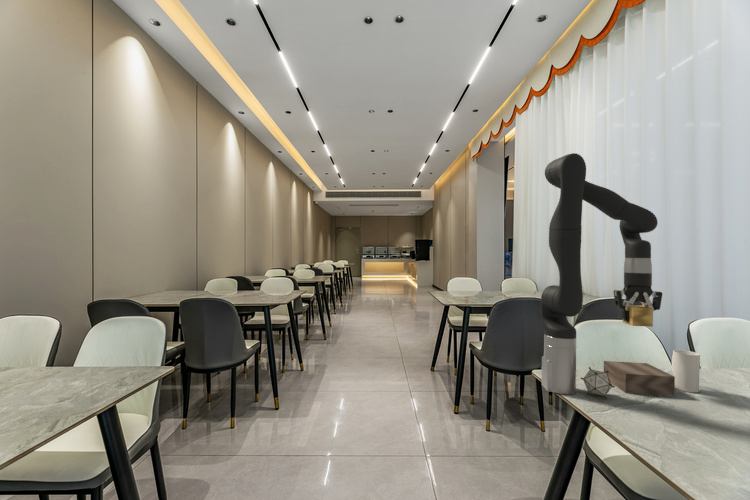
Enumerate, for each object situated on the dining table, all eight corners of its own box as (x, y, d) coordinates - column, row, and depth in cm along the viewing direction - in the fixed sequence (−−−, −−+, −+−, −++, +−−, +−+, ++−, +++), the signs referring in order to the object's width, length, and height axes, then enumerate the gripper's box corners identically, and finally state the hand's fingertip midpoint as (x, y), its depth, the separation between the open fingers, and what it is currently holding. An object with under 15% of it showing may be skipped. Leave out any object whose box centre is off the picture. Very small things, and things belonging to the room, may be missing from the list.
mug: (705, 394, 112) (705, 356, 112) (681, 392, 113) (681, 354, 113) (683, 382, 122) (683, 348, 122) (661, 381, 123) (661, 346, 123)
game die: (590, 405, 111) (573, 373, 116) (618, 398, 109) (600, 366, 115) (594, 400, 104) (576, 366, 109) (624, 392, 102) (605, 359, 108)
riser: (625, 392, 112) (625, 373, 112) (603, 377, 126) (603, 360, 126) (674, 396, 110) (674, 376, 110) (646, 380, 123) (646, 363, 124)
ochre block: (632, 325, 115) (632, 307, 115) (622, 322, 121) (622, 304, 121) (652, 326, 114) (652, 308, 114) (641, 323, 120) (641, 305, 120)
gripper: (620, 271, 115) (619, 323, 115) (669, 272, 113) (668, 325, 113) (608, 270, 123) (608, 319, 123) (654, 271, 121) (654, 320, 120)
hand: (637, 321), depth 118 cm, fingers closed on ochre block, 6 cm apart
